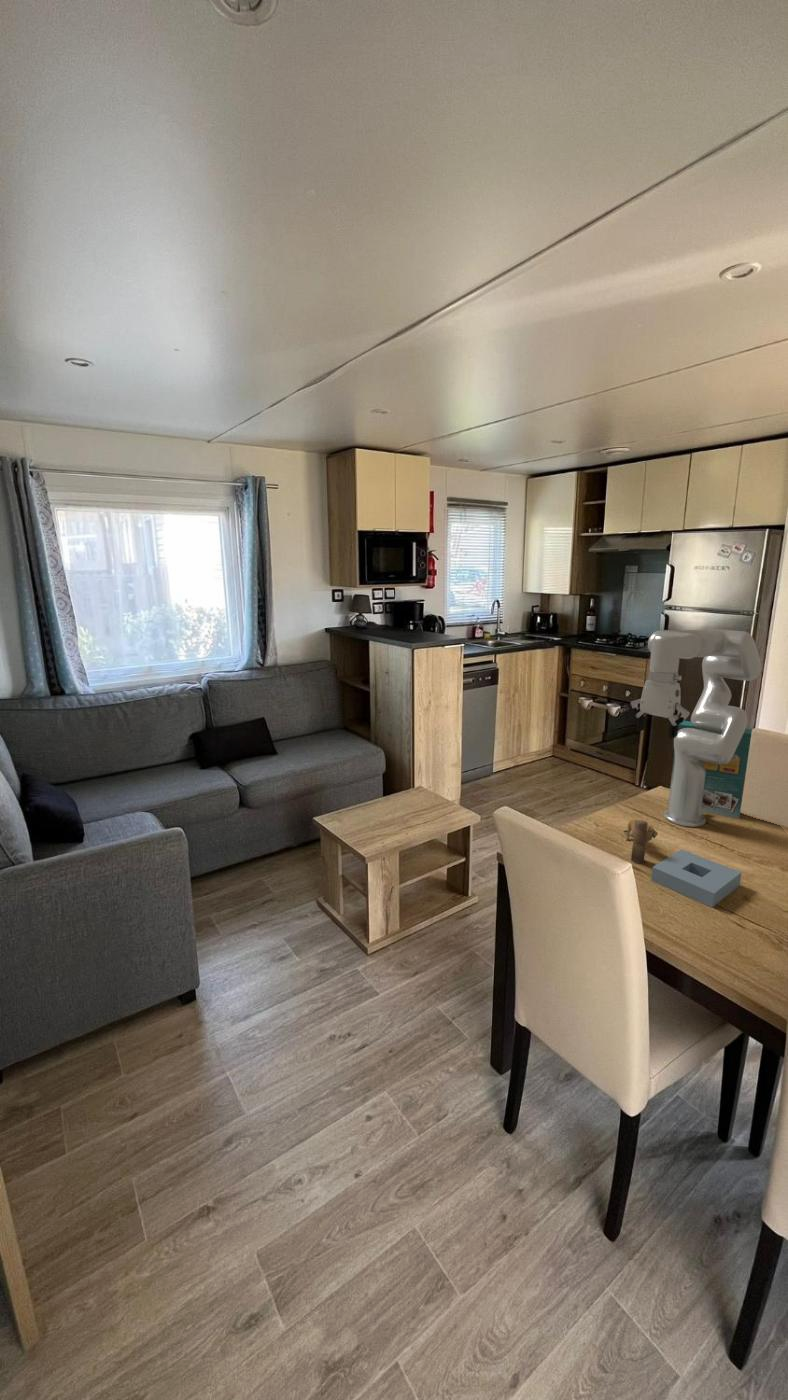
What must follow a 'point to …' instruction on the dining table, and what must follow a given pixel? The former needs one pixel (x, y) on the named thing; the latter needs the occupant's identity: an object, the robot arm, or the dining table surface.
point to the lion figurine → (650, 831)
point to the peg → (639, 841)
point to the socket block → (696, 877)
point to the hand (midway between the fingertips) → (656, 734)
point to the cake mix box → (724, 779)
